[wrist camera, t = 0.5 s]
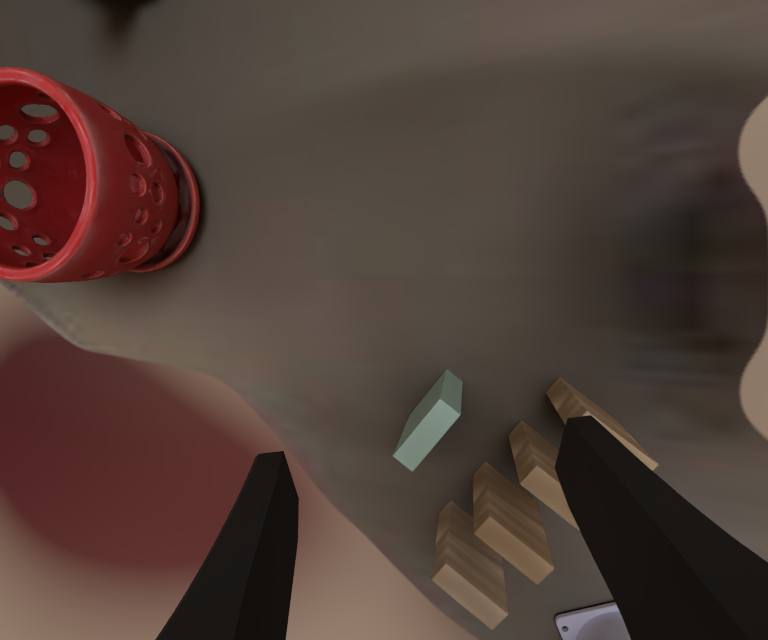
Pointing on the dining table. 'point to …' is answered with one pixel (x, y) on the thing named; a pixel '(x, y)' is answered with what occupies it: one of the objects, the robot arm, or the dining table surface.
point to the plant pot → (88, 188)
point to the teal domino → (430, 420)
